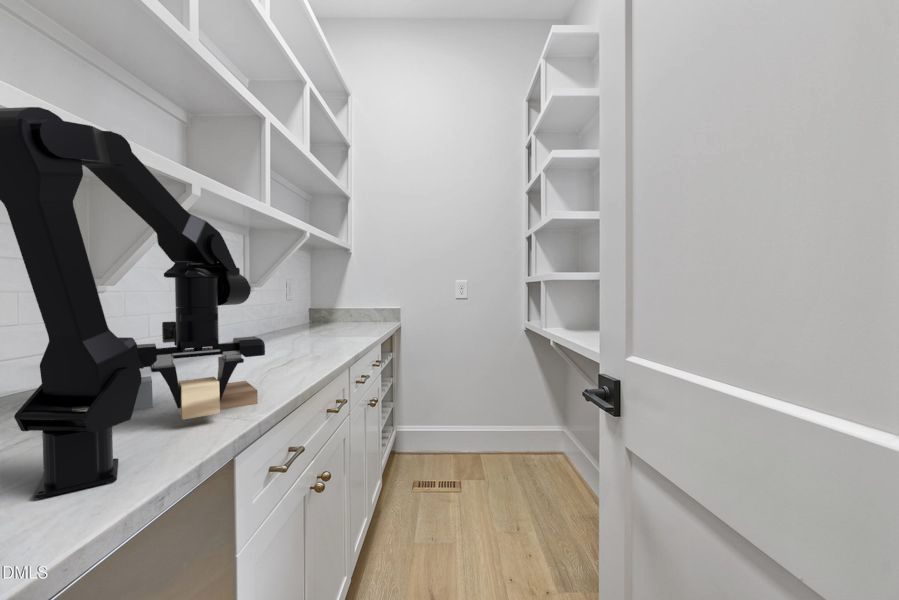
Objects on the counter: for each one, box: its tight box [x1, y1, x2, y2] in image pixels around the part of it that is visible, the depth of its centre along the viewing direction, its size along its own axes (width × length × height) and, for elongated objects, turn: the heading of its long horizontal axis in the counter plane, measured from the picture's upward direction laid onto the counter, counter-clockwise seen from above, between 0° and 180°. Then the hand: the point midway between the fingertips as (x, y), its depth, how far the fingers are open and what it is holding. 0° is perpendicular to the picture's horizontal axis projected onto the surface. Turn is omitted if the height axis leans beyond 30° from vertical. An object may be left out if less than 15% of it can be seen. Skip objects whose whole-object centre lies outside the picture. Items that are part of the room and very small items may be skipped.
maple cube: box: [178, 376, 221, 420], centre depth 64 cm, size 5×5×5 cm
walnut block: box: [220, 380, 259, 411], centre depth 76 cm, size 10×10×3 cm
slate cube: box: [133, 375, 154, 412], centre depth 73 cm, size 5×5×5 cm
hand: (199, 404), depth 64 cm, fingers closed on maple cube, 5 cm apart
